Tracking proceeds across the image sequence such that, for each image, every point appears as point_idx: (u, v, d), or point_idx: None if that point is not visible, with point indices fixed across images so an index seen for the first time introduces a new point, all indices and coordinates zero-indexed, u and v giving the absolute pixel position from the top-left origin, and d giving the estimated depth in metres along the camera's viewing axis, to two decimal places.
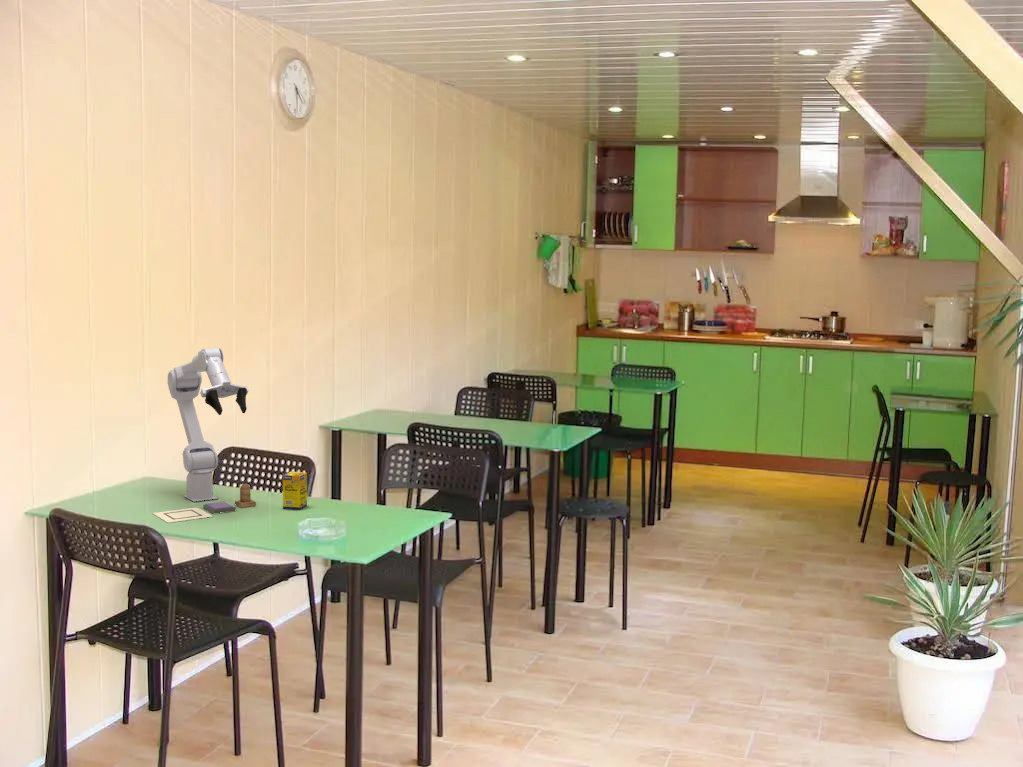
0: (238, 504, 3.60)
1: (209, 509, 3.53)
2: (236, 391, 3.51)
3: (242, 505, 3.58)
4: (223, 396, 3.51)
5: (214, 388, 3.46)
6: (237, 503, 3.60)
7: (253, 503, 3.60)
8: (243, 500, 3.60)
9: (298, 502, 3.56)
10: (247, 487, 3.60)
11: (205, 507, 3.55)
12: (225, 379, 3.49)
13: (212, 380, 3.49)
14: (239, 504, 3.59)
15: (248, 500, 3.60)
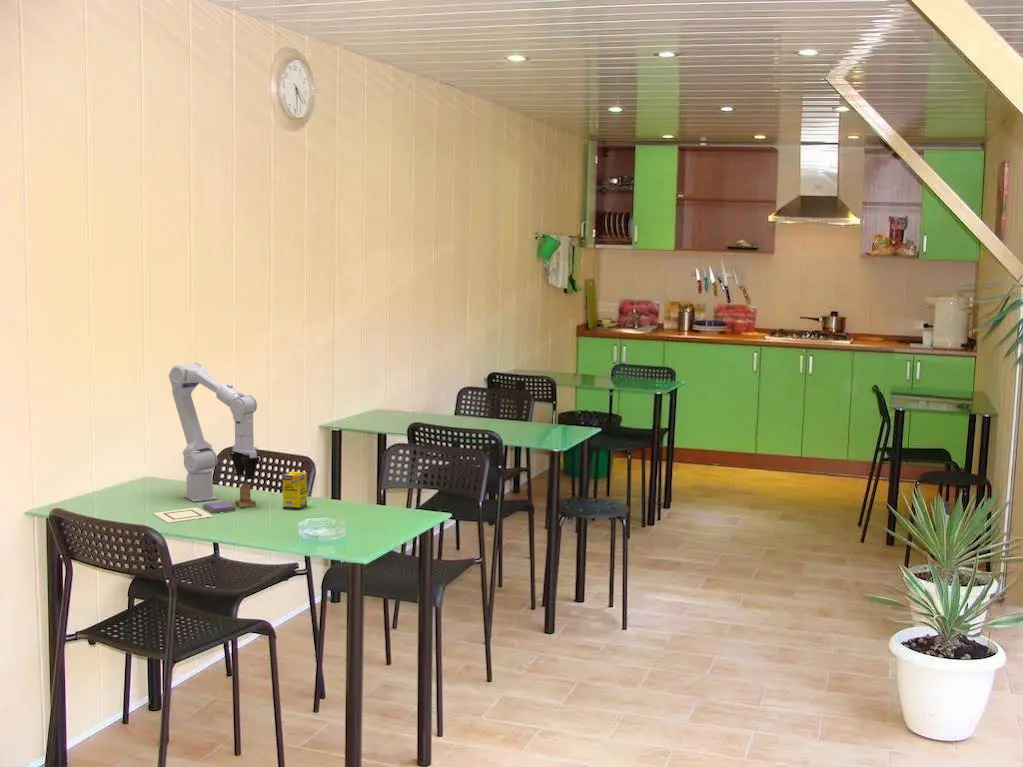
0: (238, 504, 3.60)
1: (209, 509, 3.53)
2: None
3: (242, 505, 3.58)
4: None
5: None
6: (237, 503, 3.60)
7: (253, 503, 3.60)
8: (243, 500, 3.60)
9: (298, 502, 3.56)
10: (247, 487, 3.60)
11: (205, 507, 3.55)
12: None
13: (249, 439, 3.57)
14: (239, 504, 3.59)
15: (248, 500, 3.60)
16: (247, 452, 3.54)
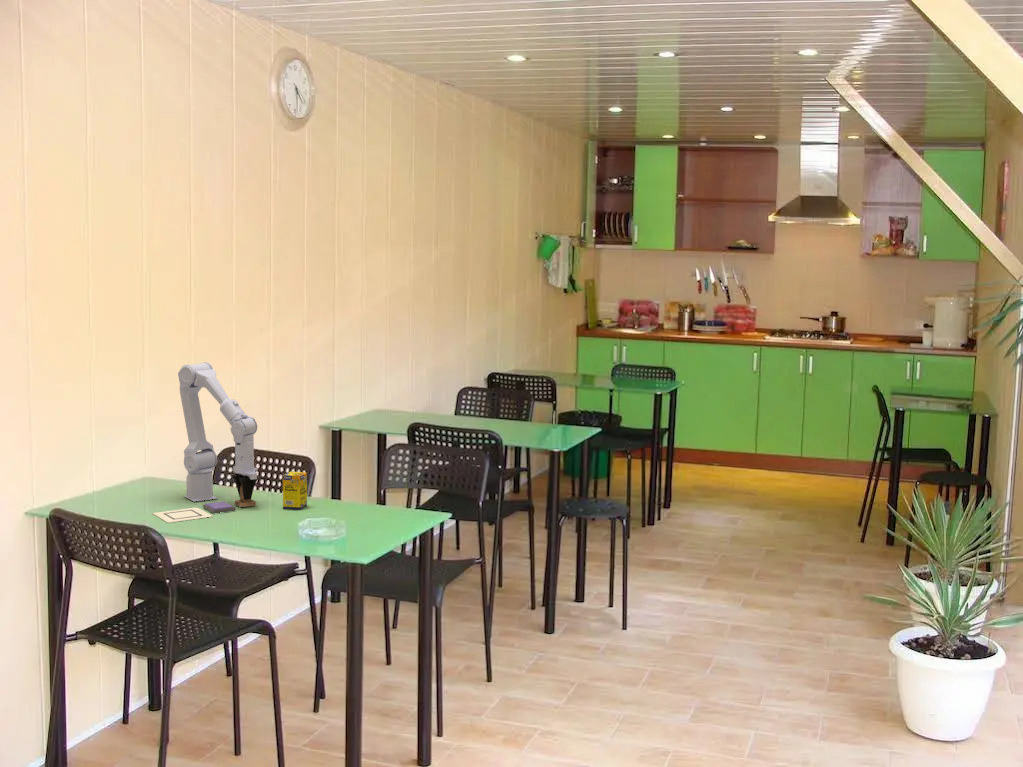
0: (238, 504, 3.60)
1: (209, 509, 3.53)
2: None
3: (242, 505, 3.58)
4: (237, 472, 3.59)
5: None
6: (237, 503, 3.60)
7: (253, 503, 3.60)
8: (243, 500, 3.60)
9: (298, 502, 3.56)
10: None
11: (205, 507, 3.55)
12: None
13: (250, 460, 3.58)
14: (239, 504, 3.59)
15: (248, 500, 3.60)
16: (247, 474, 3.55)
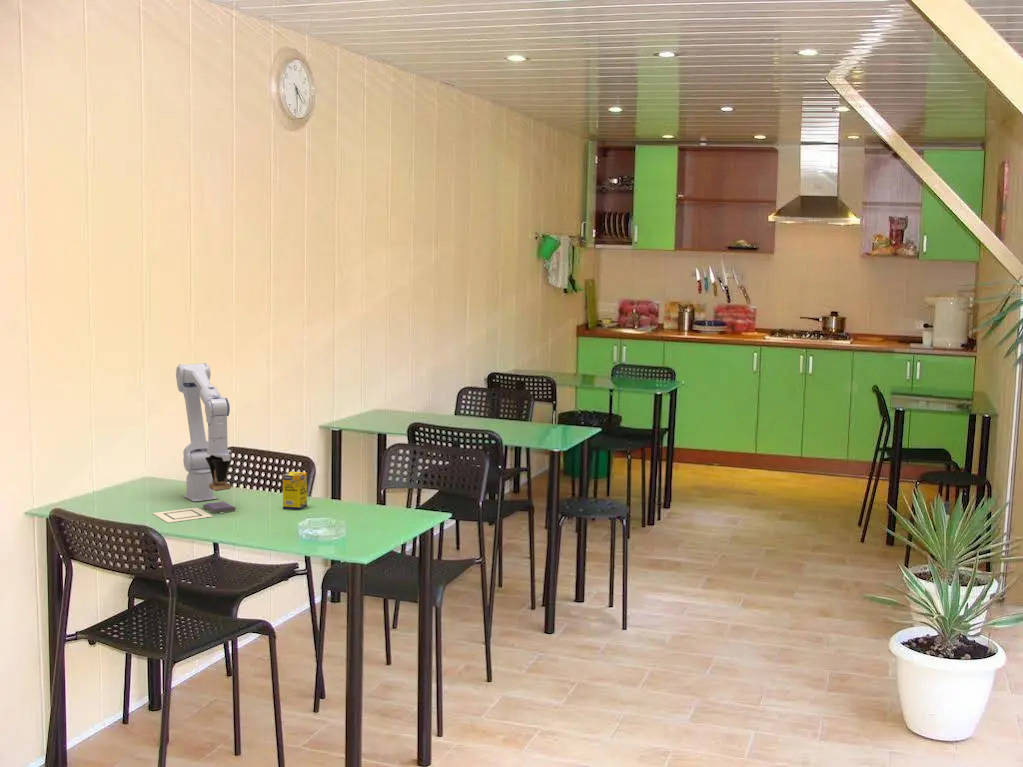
0: (212, 487, 3.53)
1: (209, 509, 3.53)
2: None
3: (217, 488, 3.52)
4: None
5: None
6: (211, 486, 3.54)
7: (228, 486, 3.54)
8: (217, 483, 3.53)
9: (298, 502, 3.56)
10: None
11: (205, 507, 3.55)
12: None
13: (223, 441, 3.51)
14: (213, 487, 3.52)
15: (223, 483, 3.54)
16: (220, 455, 3.48)
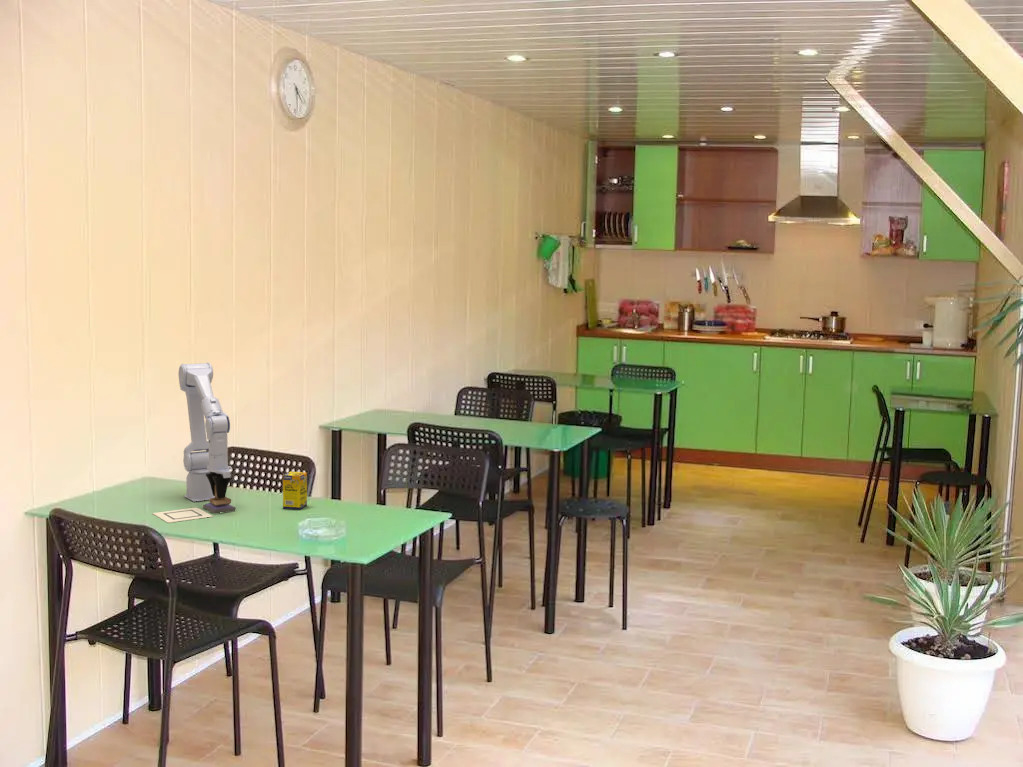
0: (213, 502, 3.54)
1: (209, 509, 3.53)
2: None
3: (217, 503, 3.52)
4: None
5: None
6: (212, 501, 3.54)
7: (228, 500, 3.54)
8: None
9: (298, 502, 3.56)
10: None
11: (205, 507, 3.55)
12: None
13: (223, 458, 3.52)
14: (214, 502, 3.53)
15: None
16: (221, 472, 3.49)
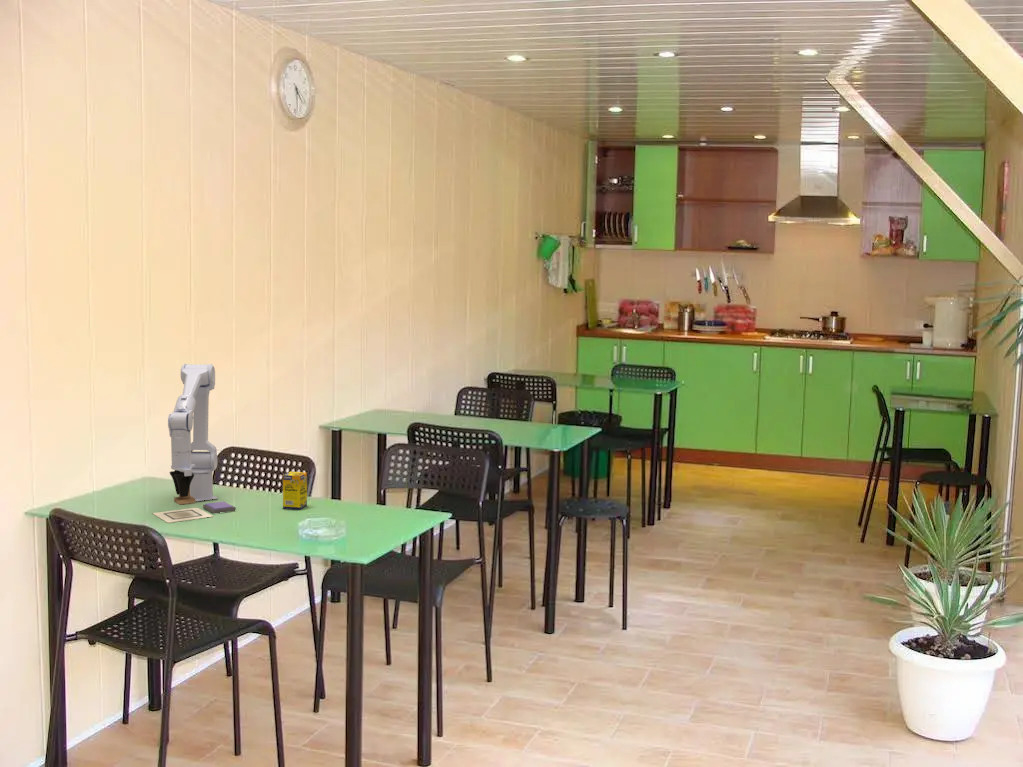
0: (177, 501, 3.46)
1: (209, 509, 3.53)
2: None
3: (180, 502, 3.44)
4: None
5: None
6: (176, 500, 3.46)
7: (192, 500, 3.46)
8: (182, 497, 3.46)
9: (298, 502, 3.56)
10: None
11: (205, 507, 3.55)
12: None
13: (186, 456, 3.44)
14: (177, 501, 3.45)
15: (187, 497, 3.46)
16: (182, 470, 3.41)
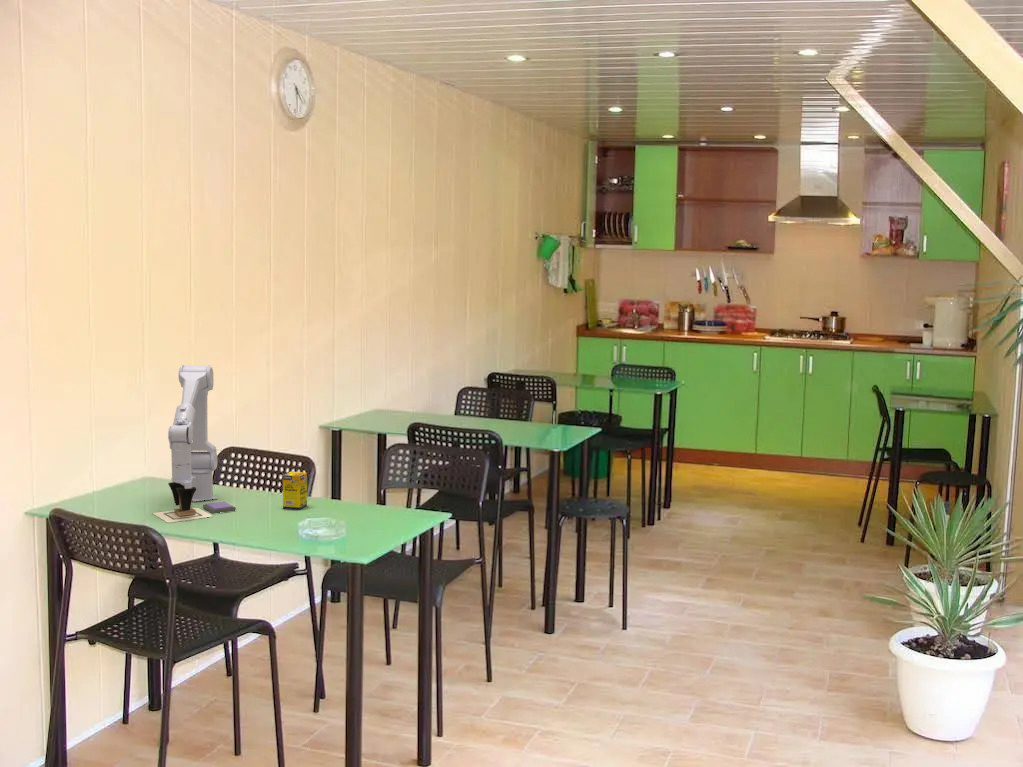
0: (177, 513, 3.46)
1: (209, 509, 3.53)
2: None
3: (181, 514, 3.45)
4: None
5: (190, 482, 3.44)
6: (176, 511, 3.47)
7: (193, 512, 3.47)
8: None
9: (298, 502, 3.56)
10: None
11: (205, 507, 3.55)
12: None
13: (186, 468, 3.44)
14: (178, 513, 3.46)
15: None
16: (182, 482, 3.41)
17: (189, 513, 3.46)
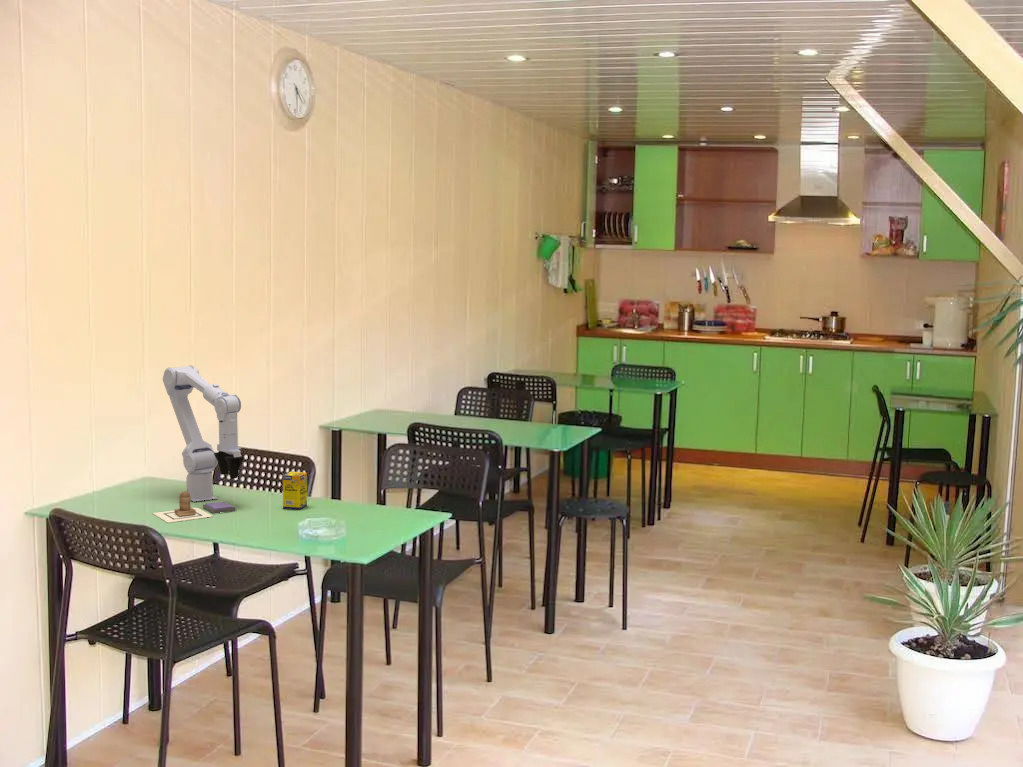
0: (177, 513, 3.46)
1: (209, 509, 3.53)
2: None
3: (181, 514, 3.45)
4: None
5: None
6: (176, 511, 3.47)
7: (193, 512, 3.47)
8: (182, 508, 3.46)
9: (298, 502, 3.56)
10: (186, 495, 3.46)
11: (205, 507, 3.55)
12: None
13: (233, 438, 3.57)
14: (178, 513, 3.46)
15: (187, 508, 3.47)
16: (231, 451, 3.54)
17: (189, 513, 3.46)
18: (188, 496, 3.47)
